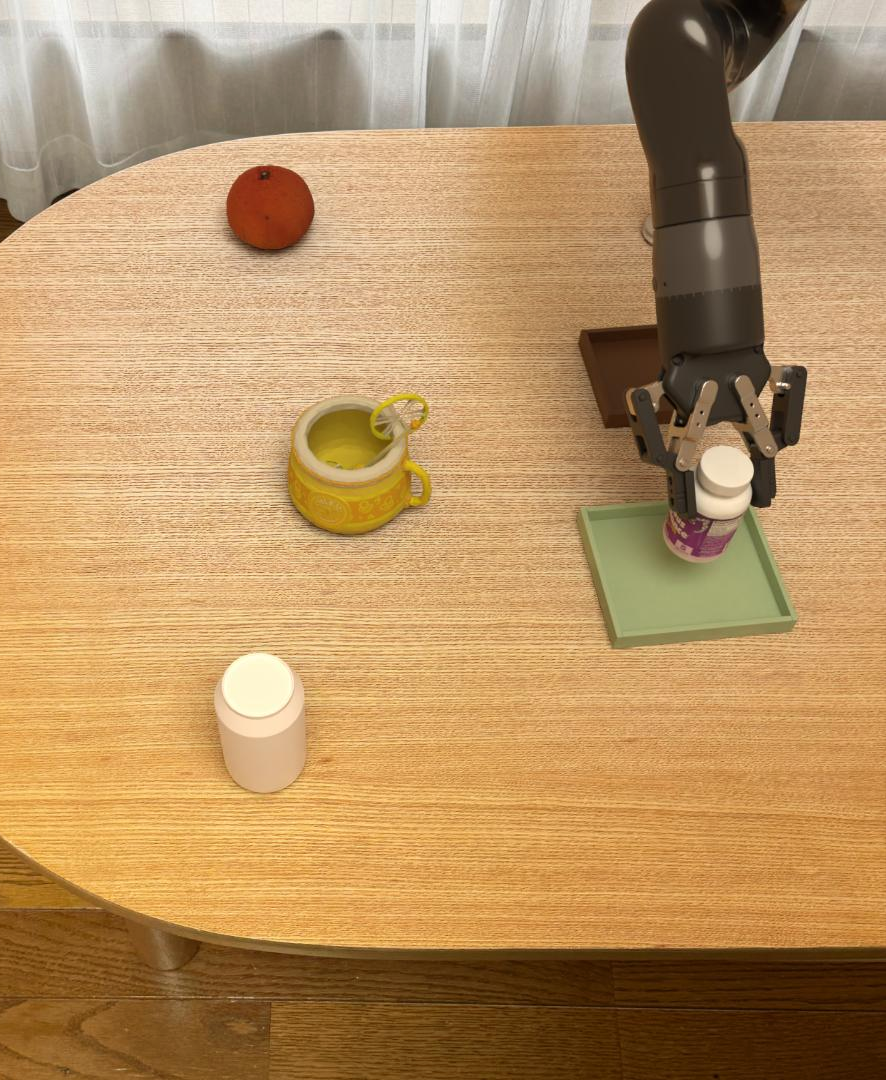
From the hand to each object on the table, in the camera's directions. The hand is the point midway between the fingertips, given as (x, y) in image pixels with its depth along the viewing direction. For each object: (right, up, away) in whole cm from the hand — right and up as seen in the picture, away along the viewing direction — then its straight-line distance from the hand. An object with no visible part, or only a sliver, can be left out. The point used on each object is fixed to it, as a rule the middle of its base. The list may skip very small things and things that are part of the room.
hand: (724, 511), depth 89 cm
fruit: (-37, +29, +34) cm, 58 cm away
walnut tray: (+1, +13, +23) cm, 27 cm away
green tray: (-1, -5, +10) cm, 11 cm away
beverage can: (-35, -19, 0) cm, 40 cm away
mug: (-28, +1, +14) cm, 31 cm away
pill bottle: (-1, -2, +6) cm, 7 cm away
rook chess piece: (+4, +30, +35) cm, 46 cm away
